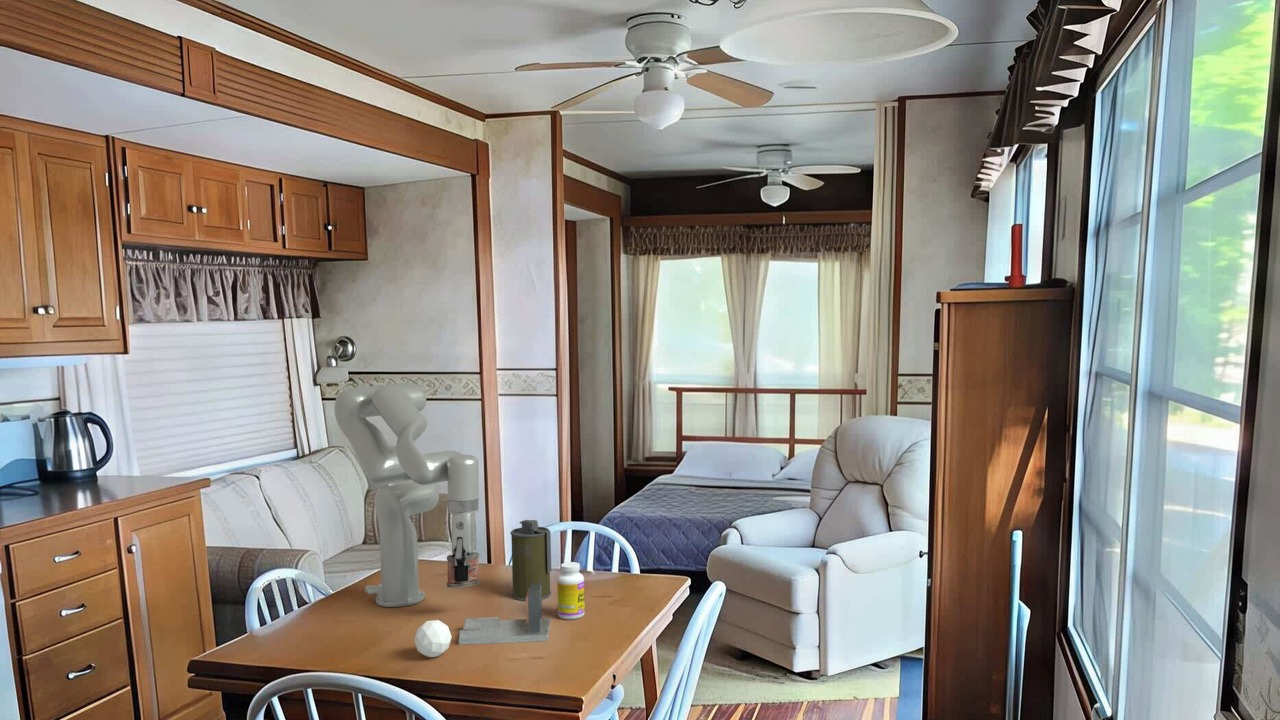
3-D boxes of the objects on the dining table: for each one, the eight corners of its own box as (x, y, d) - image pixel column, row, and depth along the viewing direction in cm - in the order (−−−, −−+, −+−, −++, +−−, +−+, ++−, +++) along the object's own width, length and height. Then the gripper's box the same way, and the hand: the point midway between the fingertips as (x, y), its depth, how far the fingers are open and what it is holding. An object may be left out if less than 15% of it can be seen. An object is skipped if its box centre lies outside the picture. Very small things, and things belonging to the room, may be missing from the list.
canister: (504, 598, 221) (502, 524, 220) (524, 587, 230) (522, 515, 230) (540, 603, 216) (538, 526, 216) (559, 591, 226) (557, 518, 225)
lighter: (448, 588, 204) (448, 548, 203) (445, 584, 207) (445, 545, 206) (480, 584, 207) (480, 544, 207) (477, 580, 210) (477, 541, 210)
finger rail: (458, 644, 188) (457, 598, 188) (466, 627, 199) (465, 584, 199) (547, 641, 189) (546, 595, 189) (550, 624, 200) (548, 581, 200)
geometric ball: (429, 664, 184) (429, 628, 189) (458, 655, 182) (458, 619, 186) (406, 658, 178) (407, 621, 183) (436, 648, 176) (436, 611, 180)
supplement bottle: (580, 621, 202) (579, 568, 202) (554, 619, 203) (553, 567, 203) (588, 612, 209) (586, 561, 208) (562, 610, 210) (561, 560, 210)
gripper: (473, 513, 198) (473, 588, 199) (482, 497, 214) (482, 567, 215) (441, 513, 197) (441, 589, 198) (453, 497, 214) (453, 567, 215)
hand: (463, 577), depth 207 cm, fingers closed on lighter, 4 cm apart
